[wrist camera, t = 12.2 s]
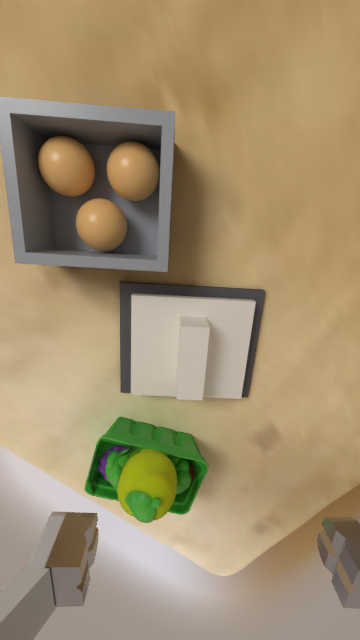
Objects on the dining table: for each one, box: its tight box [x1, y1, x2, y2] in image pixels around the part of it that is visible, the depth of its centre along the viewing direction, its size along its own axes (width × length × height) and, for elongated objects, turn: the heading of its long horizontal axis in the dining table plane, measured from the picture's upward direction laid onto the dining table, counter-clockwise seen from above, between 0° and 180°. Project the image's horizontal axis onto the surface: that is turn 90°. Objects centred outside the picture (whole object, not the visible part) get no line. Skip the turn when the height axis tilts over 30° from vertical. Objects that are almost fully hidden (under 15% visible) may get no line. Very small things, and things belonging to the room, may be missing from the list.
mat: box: [120, 282, 265, 397], centre depth 28 cm, size 14×12×1 cm
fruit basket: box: [85, 417, 208, 523], centre depth 26 cm, size 11×9×11 cm
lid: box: [131, 293, 256, 400], centre depth 25 cm, size 11×10×5 cm
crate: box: [0, 97, 175, 272], centre depth 21 cm, size 11×10×6 cm
